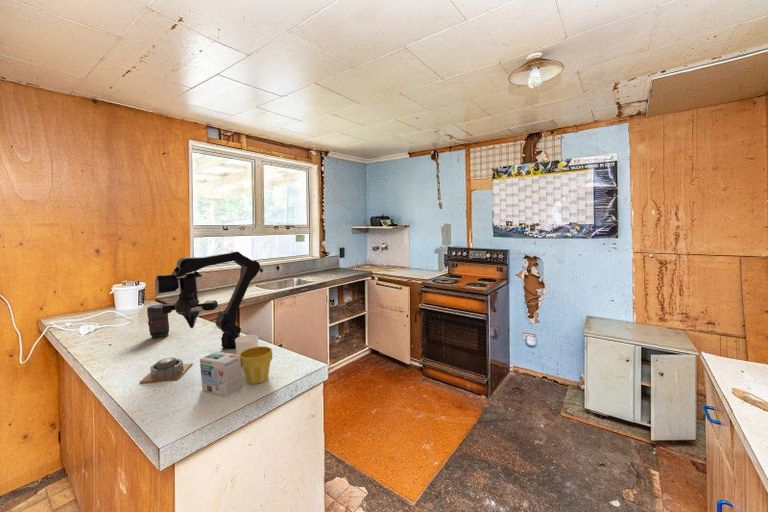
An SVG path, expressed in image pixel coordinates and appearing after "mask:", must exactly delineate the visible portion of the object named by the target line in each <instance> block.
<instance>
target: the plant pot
mask: <svg viewBox="0 0 768 512" xmlns="http://www.w3.org/2000/svg"><path fill="white" fill-rule="evenodd" d="M239 355H240V360H241V366H242V367H241V368H242V370H243V372H244V376H245V378H246V382H247V383H248V384H250V385H255V384H256V385H257V384H260V383H261V384H262V383H263V382H266V381H267V380H268V379H269V375H270V366H271V362H272V360H273V350H272V348H271V347H269V346H258V347H253V348H249V349H246V350H244V351H242V352H241V353H240V354H239Z"/></svg>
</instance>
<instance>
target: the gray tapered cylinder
mask: <svg viewBox="0 0 768 512" xmlns="http://www.w3.org/2000/svg"><path fill="white" fill-rule="evenodd" d="M176 359H177V358H176V357H168V358H167V357H166V358H163V359H159V360H158V361H156V362H155V364H156V368H157V369H166V368H170V367H173V366H175V365H177V363H176Z"/></svg>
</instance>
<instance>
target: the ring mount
mask: <svg viewBox="0 0 768 512" xmlns="http://www.w3.org/2000/svg"><path fill="white" fill-rule="evenodd" d="M183 362H184V361H183V359H181V358H176V363H177V365H175V366H173V367H170V368H166V369H157V368H156V363H154V364H153V365H151V366H150V368H149V369H150V372H149V373H148V374H147V375H146V376H144V378H142V379H141V380H140V381H139V384H148V382H150V383H159V381H160V382H169V381H168V380H170V381H176V380H178V379H179V380H180V379H181V378H182V377H183V376H184V375H185V373H187V371H188V370H190V368H191V367H192V366H193V363H192V362H191V363H190V362H189V363H183ZM181 376H182V377H181Z"/></svg>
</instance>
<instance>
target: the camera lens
mask: <svg viewBox="0 0 768 512" xmlns="http://www.w3.org/2000/svg"><path fill="white" fill-rule="evenodd" d="M164 305H166V304H164V303H163V304H153V305H149V306H147V309H146V313H147V319H148V321H147V324H148V331H149V336H151V339H153V340H158V339H163V338H166V337H168V336H169V332H170V324H169V313H164V314H162V313H161V308H162V306H164Z"/></svg>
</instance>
